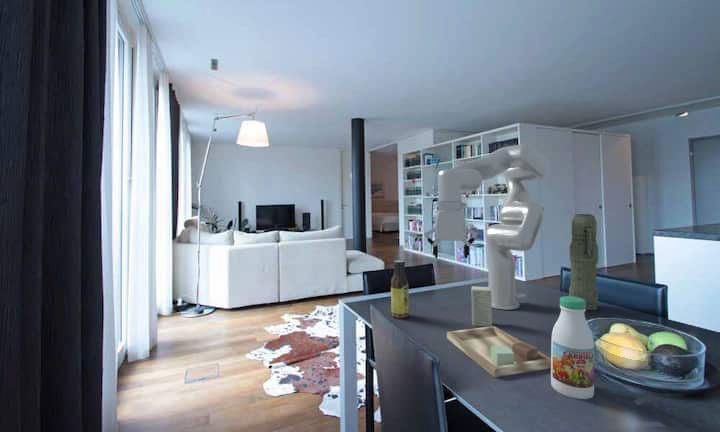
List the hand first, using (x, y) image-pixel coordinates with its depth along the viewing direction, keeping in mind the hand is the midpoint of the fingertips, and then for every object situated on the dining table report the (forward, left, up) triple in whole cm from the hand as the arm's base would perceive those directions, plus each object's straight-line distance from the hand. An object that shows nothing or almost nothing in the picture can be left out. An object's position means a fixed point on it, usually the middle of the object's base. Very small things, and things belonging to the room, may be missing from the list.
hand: (450, 257), depth 109 cm
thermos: (-54, +1, -22) cm, 59 cm away
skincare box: (-8, +5, -22) cm, 24 cm away
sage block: (+4, +31, -21) cm, 38 cm away
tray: (+1, +24, -22) cm, 32 cm away
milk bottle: (-4, +43, -22) cm, 48 cm away
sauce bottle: (+15, -10, -22) cm, 28 cm away
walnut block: (-3, +31, -21) cm, 38 cm away
